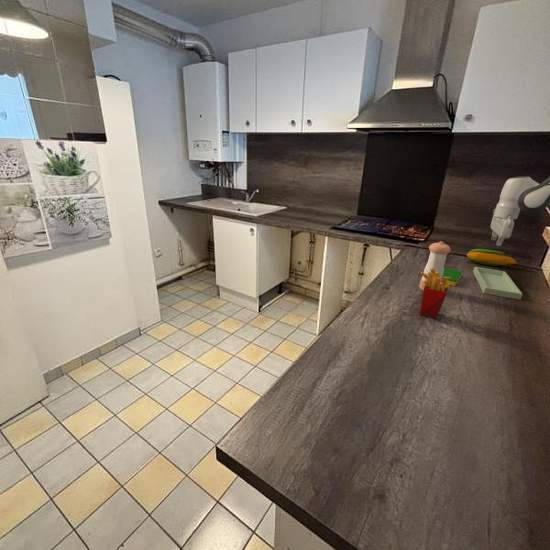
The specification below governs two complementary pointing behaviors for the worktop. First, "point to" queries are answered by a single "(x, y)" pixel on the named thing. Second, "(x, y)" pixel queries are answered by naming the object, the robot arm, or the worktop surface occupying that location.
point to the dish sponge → (454, 276)
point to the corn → (489, 257)
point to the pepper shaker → (435, 260)
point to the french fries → (433, 294)
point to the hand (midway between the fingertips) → (495, 242)
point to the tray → (496, 283)
